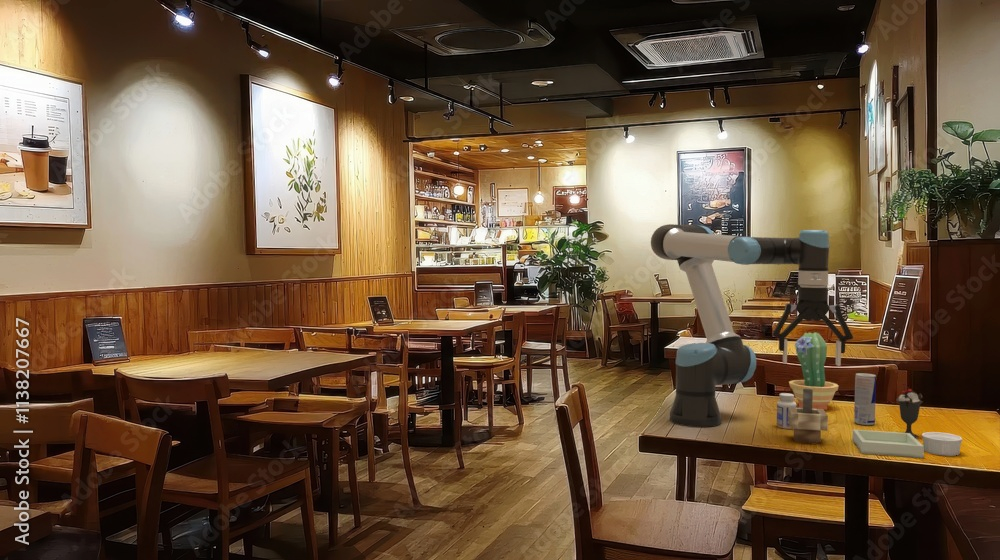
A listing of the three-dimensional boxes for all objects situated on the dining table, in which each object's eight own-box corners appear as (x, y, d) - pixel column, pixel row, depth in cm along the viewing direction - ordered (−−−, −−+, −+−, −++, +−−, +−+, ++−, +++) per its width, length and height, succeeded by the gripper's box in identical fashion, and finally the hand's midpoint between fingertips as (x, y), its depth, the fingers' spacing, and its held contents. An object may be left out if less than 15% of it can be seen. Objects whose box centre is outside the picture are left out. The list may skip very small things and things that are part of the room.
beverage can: (877, 426, 217) (878, 376, 216) (857, 425, 218) (858, 375, 217) (871, 422, 222) (872, 373, 222) (852, 421, 223) (853, 372, 223)
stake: (794, 442, 197) (795, 391, 197) (792, 436, 204) (793, 386, 203) (822, 444, 195) (823, 392, 195) (818, 438, 202) (819, 388, 201)
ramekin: (952, 459, 182) (952, 442, 182) (915, 451, 190) (915, 434, 189) (967, 453, 188) (968, 437, 187) (931, 446, 195) (931, 430, 195)
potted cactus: (781, 402, 252) (782, 330, 251) (827, 403, 251) (828, 330, 250) (797, 412, 236) (799, 335, 235) (846, 412, 236) (848, 335, 235)
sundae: (891, 436, 205) (893, 383, 205) (899, 432, 210) (901, 380, 209) (918, 440, 200) (919, 386, 200) (925, 436, 205) (926, 383, 205)
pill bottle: (797, 426, 216) (798, 393, 216) (794, 430, 211) (795, 396, 211) (778, 424, 219) (778, 392, 219) (775, 427, 214) (775, 394, 214)
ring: (791, 428, 196) (791, 413, 196) (788, 421, 205) (788, 407, 205) (827, 430, 194) (827, 415, 194) (822, 423, 203) (823, 409, 202)
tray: (862, 453, 187) (862, 441, 187) (852, 440, 200) (852, 429, 200) (923, 458, 183) (923, 446, 183) (909, 444, 196) (909, 433, 196)
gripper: (766, 286, 199) (764, 364, 199) (866, 288, 193) (864, 368, 193) (763, 285, 206) (761, 360, 207) (859, 286, 200) (857, 364, 201)
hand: (811, 364), depth 200 cm, fingers open, 13 cm apart
